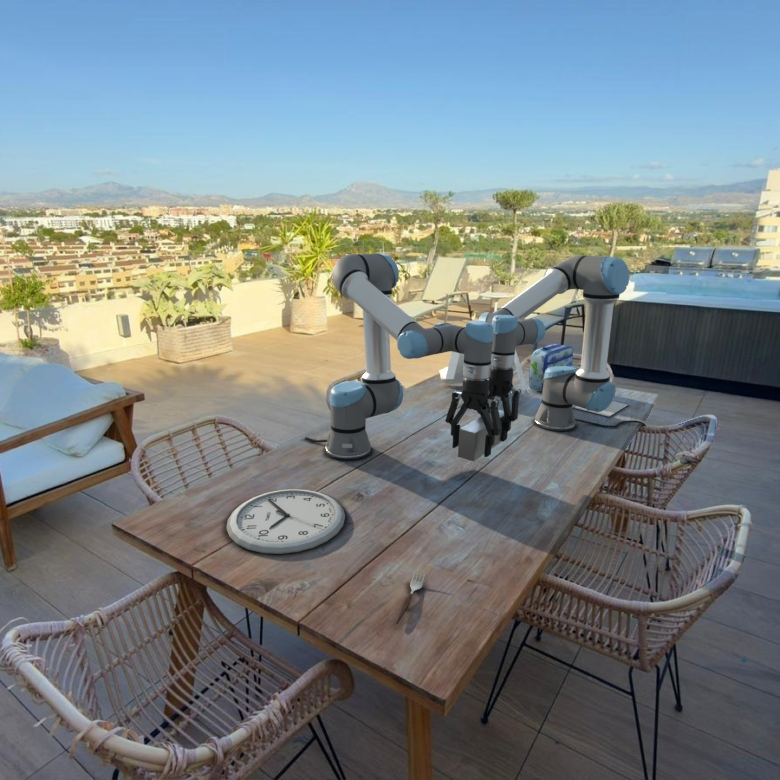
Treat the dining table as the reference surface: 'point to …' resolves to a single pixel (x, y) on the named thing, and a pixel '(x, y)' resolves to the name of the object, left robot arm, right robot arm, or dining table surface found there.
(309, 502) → the wall clock
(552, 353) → the lunch box
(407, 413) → the dining table surface
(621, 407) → the invitation card
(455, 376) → the white plastic object
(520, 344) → the right robot arm
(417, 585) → the fork
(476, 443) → the bar
